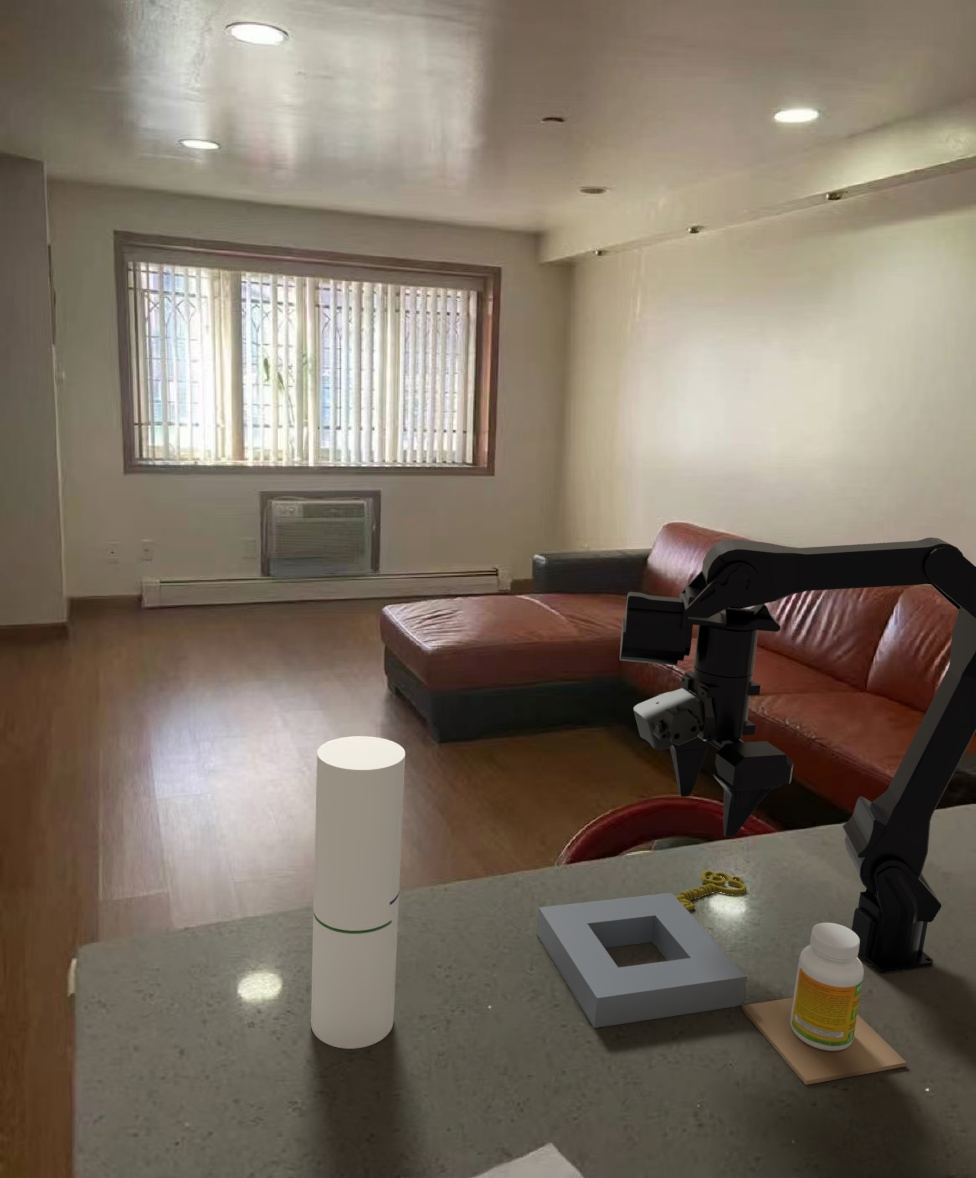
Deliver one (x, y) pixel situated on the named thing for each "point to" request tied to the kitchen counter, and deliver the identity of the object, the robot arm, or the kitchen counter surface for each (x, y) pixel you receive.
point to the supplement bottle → (828, 988)
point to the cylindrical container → (356, 889)
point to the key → (711, 887)
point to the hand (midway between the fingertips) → (706, 815)
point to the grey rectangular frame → (640, 991)
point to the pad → (816, 1063)
